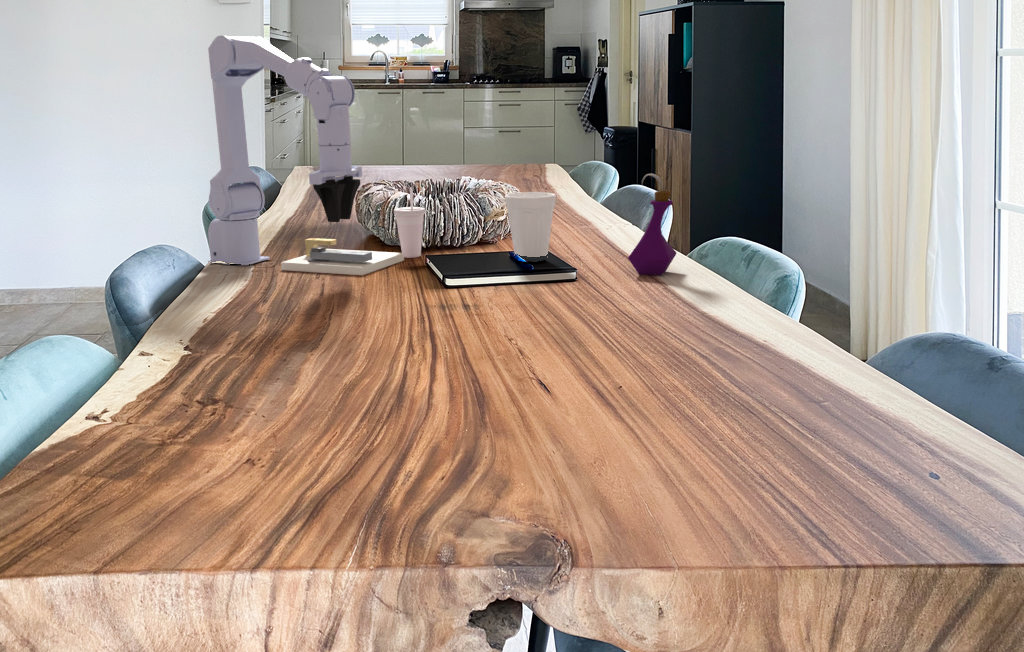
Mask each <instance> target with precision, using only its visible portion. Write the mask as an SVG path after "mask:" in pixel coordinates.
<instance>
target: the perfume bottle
mask: <svg viewBox="0 0 1024 652" xmlns="http://www.w3.org/2000/svg"><path fill="white" fill-rule="evenodd" d="M648 176H650V177H653V178H654V179H656V180H657V181H658V183H659V184H660V186H661V190H657V191H655V192H654V194H653V196H654V199H652V200H650V205H652V208H653V211H652V215H651V218H650V221H649V223H648V225H647V227H646V229H645V232H644V234H643V235H642V236H641V238H640V240H639V241H638V242H637V244H636V246H635V247H634V248H633V250H632V252H631V253H630V254H629V255H628V258H627V259H628V260H629V262H630V263H631V265H632V267H633V268H634V269H635V271H636V272H637V274H638V275H643V276H663V275H664V274H665V273H666V272H667V270H668V268H669V267H670V265H671V263H672V262H673V260H674V259H675V257H676V256H677V251H676V250H675V249H674V248H673V247H672V246H671V245H670V243H669V242H668V241H667V240H666V238H665V237H664V235H663V234H662V222H663V218H664V215H665V212H666V211H667V210H668V208H669V207H670V206H672V205H673V204H674V202H673V200H671V199H670V197H671V193H672V192H671V191H670V190H665V189H664V188H663V183H662V180H661V178H660V177H659V176H658V175H656V174H654V173H646V174H645V175H644V176H643V178H642V180H641V185H643V183H644V180H645V179H646V178H647V177H648Z"/></svg>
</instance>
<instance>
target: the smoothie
mask: <svg viewBox="0 0 1024 652" xmlns="http://www.w3.org/2000/svg"><path fill="white" fill-rule="evenodd" d="M413 191H414V190H413V186H409V202H410V206H405V207H404V206H403V207H398V208H394V209H393V215H394V216H395V219H396V226H397V231H398V238H399V244H400V249H401V253H404V258H407V259H408V258H409V259H410V258H419V257H421V255H422V241H423V233H424V232H423V229H424V218H425V217H424V216H425V214H426V208H425V207H421V206H414V192H413Z"/></svg>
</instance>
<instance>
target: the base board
mask: <svg viewBox="0 0 1024 652" xmlns="http://www.w3.org/2000/svg"><path fill="white" fill-rule="evenodd" d="M326 250H340V249H336V248H334V249H333V248H326ZM342 250H343V251H359V249H358V250H354V249H342ZM361 251H362V252H372V260H369V261H366V262H354V261H338V260H321V259H310V256H306V254H304V255H302V256H298V257H295V258H291V259H288V260H284V261H281V262H280V266H281V267H280V269H281V271H288V272H289V271H291V272H292V271H293V272H306V273H307V272H308V273H320V274H321V273H324V274H337V275H338V274H339V275H354V276H365V275H367V274H371V273H373V272H375V271H378V270H381V269H385V268H387V267H389V266H392V265H395V264H399V263H400V262H403V261H405V257H404V253H402V252H395V251H393V252H391V251H389V252H388V251H374V250H361Z"/></svg>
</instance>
